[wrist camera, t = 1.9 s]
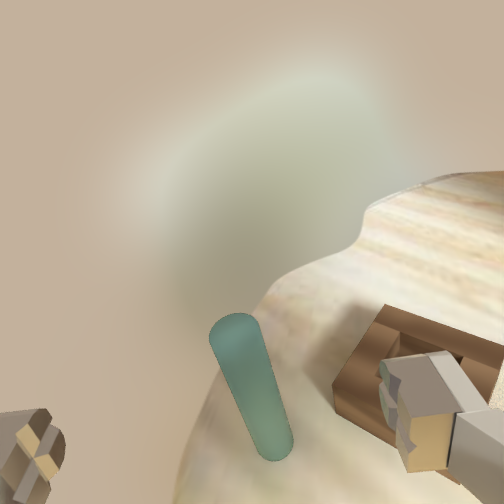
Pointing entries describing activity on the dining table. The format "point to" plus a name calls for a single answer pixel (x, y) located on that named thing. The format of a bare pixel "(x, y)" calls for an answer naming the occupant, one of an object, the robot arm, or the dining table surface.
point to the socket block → (399, 345)
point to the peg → (252, 383)
